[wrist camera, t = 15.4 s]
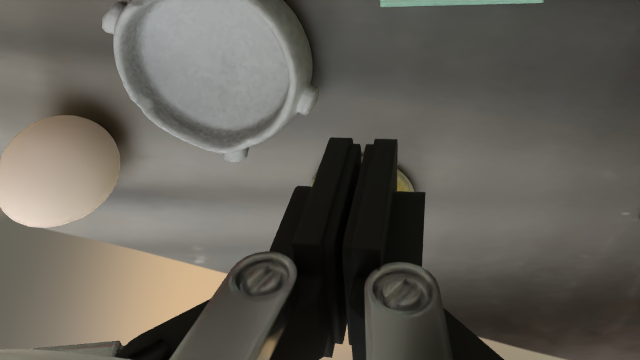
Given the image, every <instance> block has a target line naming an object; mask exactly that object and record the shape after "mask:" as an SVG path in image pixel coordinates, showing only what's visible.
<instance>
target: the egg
mask: <svg viewBox="0 0 640 360" xmlns="http://www.w3.org/2000/svg"><path fill="white" fill-rule="evenodd" d="M120 167H121V166H120V154H119V151H118V148H117V146H116V143H115V141H114V139H113V138H112V137H111V135H110V134H109V133H108V132H107V131H106V129H104V128H103V127H101V126H100V125H99V124H97V123H95V122H93V121H91V120H89V119H86V118H82V117H79V116H72V115H59V116H51V117H48V118H45V119H42V120H39V121H37V122H34V123H33V124H31V125H29V126H27V127H26V128H25V129H24V130H22V131H21V132H20V133H19V134H17V135H16V136H15V137H14V138H13V139H12V141H11V142H10V143H9V144H8V146H7V147H6V148H5V150H4V151H3V153H2V156H1V158H0V207H1V209H2V210H3V212H4V213H5V214H6V215H7V216H9V217H10V218H11V219H12V220H14V221H16V222H18V223H20V224H23V225H26V226H29V227H41V228H49V227H55V226H61V225H64V224H67V223H70V222H73V221H76V220H78V219H81V218H83V217H85V216H86V215H88V214H89V213H91V212H92V211H94V210H96V209H97V208H98V207H99V206H100V205H101V204H102V203H103V202H104V201H105V200H106V199H107V198H108V196H109V195H110V194H111V192H112V191H113V189H114V188H115V185H116V183H117V181H118V177H119V172H120Z"/></svg>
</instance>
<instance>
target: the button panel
mask: <svg viewBox="0 0 640 360" xmlns="http://www.w3.org/2000/svg"><path fill="white" fill-rule="evenodd" d="M543 1H544V0H380V7H401V6H438V5H476V4H513V3H542V2H543Z"/></svg>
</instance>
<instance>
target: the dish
mask: <svg viewBox="0 0 640 360" xmlns="http://www.w3.org/2000/svg"><path fill="white" fill-rule="evenodd" d="M102 27H103V30H104V31H105V32H107V33H111V34H114V39H113V45H114V55H115V61H116V65H117V69H118V72H119V75H120V77H121V79H122V81H123V85H124V87H125V89H126V91H127V93H128V95H129V96H130V98H131V99H132V101H133V102H134V103H135V104H137V105H138V106H139V107H140V108H141V110H142V111H143V113H144V114H145V115H146V116H147V117H148V118H149V119H150V120H151V121H152V122H153V123H154V124H156V125H157V126H158V127H160V128H161V129H163V130H165V131H166V132H168V133H170V134H171V135H173V136H175V137H177V138H179V139H181V140H183V141H185V142H187V143H190V144H192V145H194V146H196V147H199V148H201V149H204V150H207V151H211V152H215V153H223V158H224V159H225V160H227V161H229V162H238V161H241V160H244V159H245V158H246V157H247V154H248V150H249V147H250V146H252V145H255V144H258V143H261V142H263V141H265V140H266V139H268V138H270V137H271V136H273V135H274V134H276V133H277V132H278V131H279V130H281V129H282V128H283V127H284V126H285V125H286V124H287V123H288V122H289V121H290V120H291V119H292V118H293V117H294V116H295V115H296V114H297V113H301V114H303V115H306V114H308V113H309V112H310V111H311V109H312V108H313V106H314V105H315V103H316V101H317V99H318V94H319V89H318V88H317V87H314V86H312V85H311V84H310V83H311V78H312V70H313V65H312V55H311V49H310V45H309V41H308V39H307V36H306V34H305V32H304V29H303V27H302V25H301V23H300V22H299V20H298V18H297V17H296V15H295V13H294V12H293V11H292V10H291V8H290V7H289V6H288V5H287V4H286V3H285V1H284V0H131V1H130V2H129V3H128V4H127V3H126V2H123V1H122V2H118V3H116V4H115V5H113V6H112V7H111V8H110V9H108V11H107V12H106V14H105V15H104V16H103V18H102Z"/></svg>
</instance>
